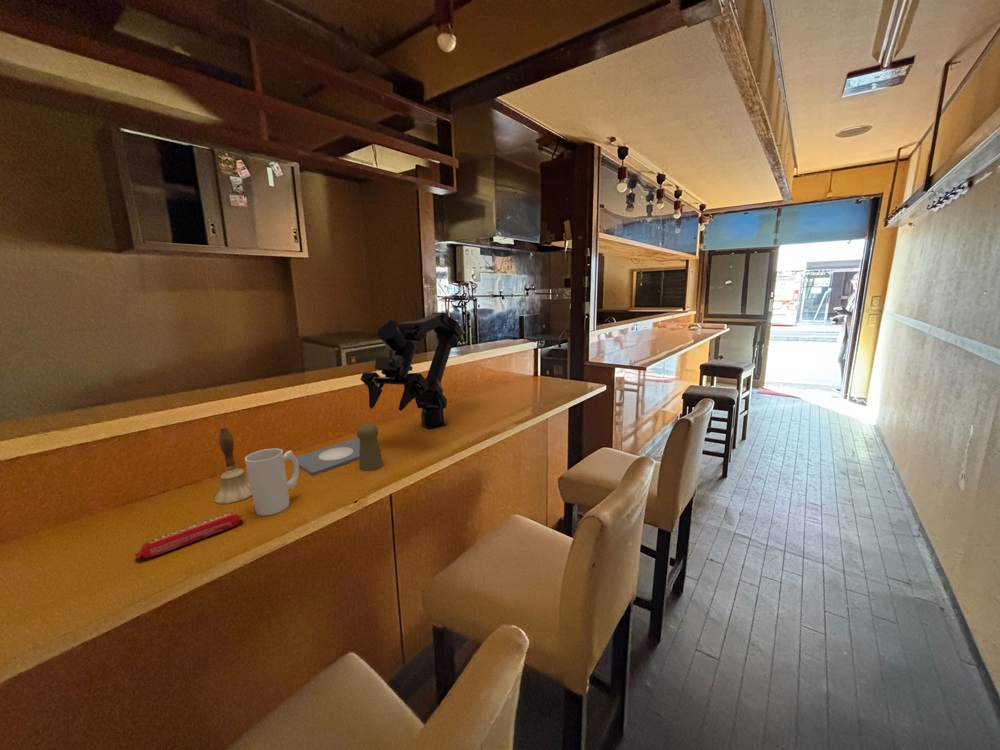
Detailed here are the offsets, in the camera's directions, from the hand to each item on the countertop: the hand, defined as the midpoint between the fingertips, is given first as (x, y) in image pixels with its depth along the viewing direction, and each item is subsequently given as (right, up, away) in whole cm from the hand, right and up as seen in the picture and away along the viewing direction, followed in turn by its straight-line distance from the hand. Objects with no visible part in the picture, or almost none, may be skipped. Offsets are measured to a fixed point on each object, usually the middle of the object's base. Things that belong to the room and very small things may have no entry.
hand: (385, 409), depth 108 cm
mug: (-16, -19, -22) cm, 33 cm away
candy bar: (-26, -22, -33) cm, 48 cm away
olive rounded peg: (-2, -15, -4) cm, 15 cm away
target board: (-14, -13, +3) cm, 20 cm away
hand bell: (-29, -18, -17) cm, 38 cm away
